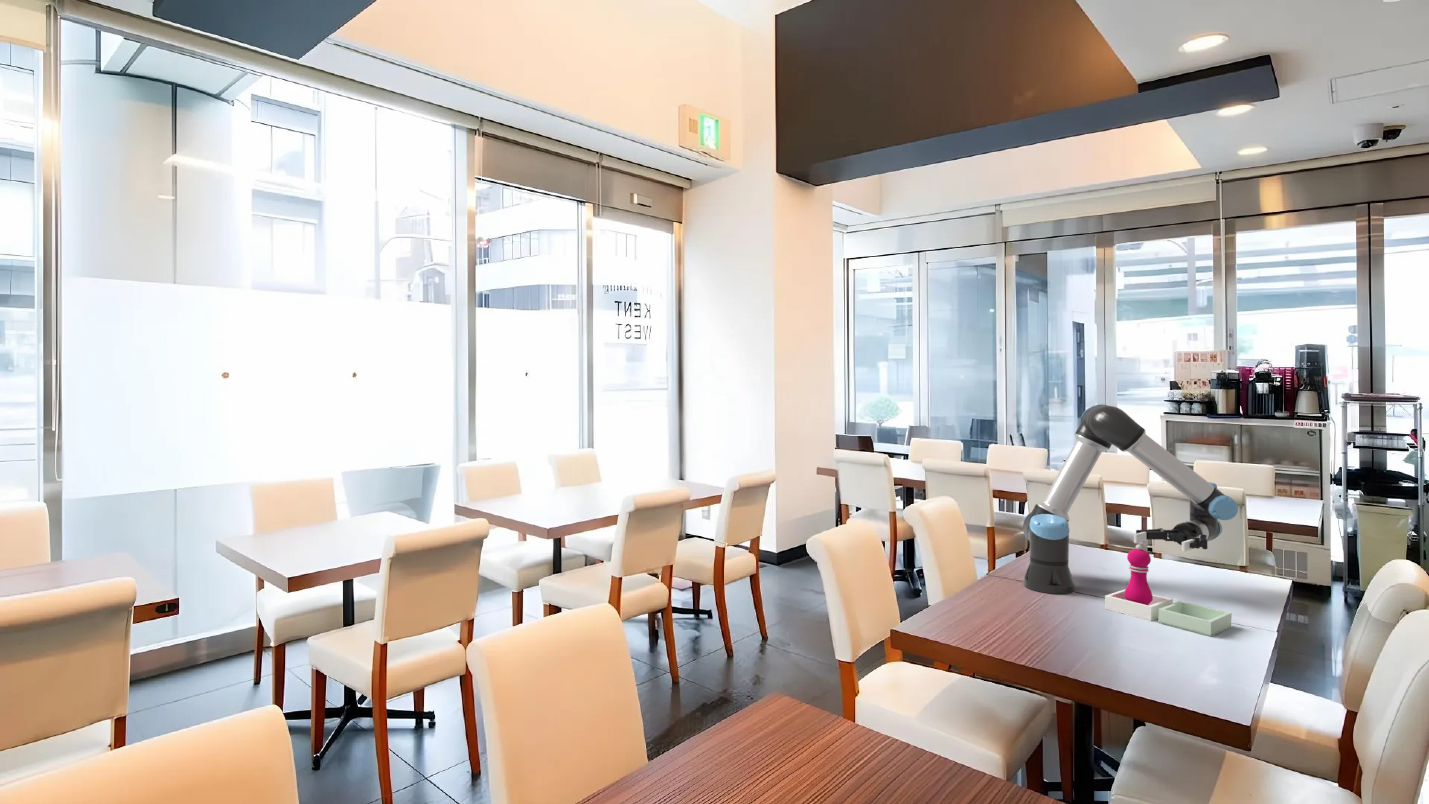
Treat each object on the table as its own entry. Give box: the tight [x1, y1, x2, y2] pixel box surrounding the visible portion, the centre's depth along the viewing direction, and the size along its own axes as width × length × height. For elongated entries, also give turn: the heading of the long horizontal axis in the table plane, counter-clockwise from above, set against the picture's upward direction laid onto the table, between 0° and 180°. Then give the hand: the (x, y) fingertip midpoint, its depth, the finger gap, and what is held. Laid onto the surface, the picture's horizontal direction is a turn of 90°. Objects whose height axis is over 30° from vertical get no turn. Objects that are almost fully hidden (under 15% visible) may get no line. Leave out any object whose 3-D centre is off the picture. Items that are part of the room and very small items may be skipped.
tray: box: [1157, 600, 1232, 637], centre depth 197 cm, size 13×13×4 cm
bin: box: [1104, 588, 1173, 622], centre depth 210 cm, size 13×13×4 cm
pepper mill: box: [1124, 543, 1153, 606], centre depth 210 cm, size 7×7×20 cm
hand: (1158, 542), depth 215 cm, fingers open, 13 cm apart
